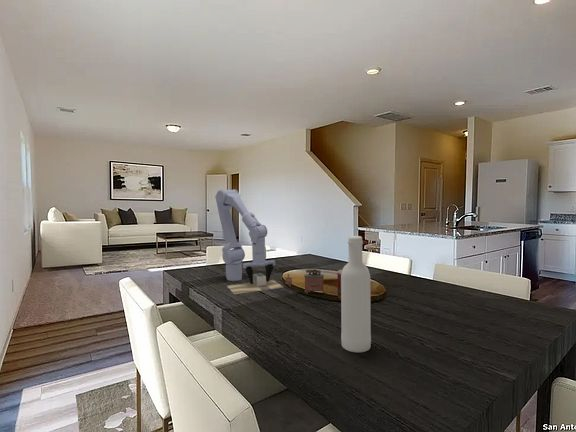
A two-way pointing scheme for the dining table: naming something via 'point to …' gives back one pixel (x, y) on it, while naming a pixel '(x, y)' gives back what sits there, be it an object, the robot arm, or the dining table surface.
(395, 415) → the dining table surface
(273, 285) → the subfloor panel
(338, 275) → the canned food
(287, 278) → the awl
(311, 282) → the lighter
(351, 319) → the bottle
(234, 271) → the robot arm
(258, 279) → the block
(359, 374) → the dining table surface
